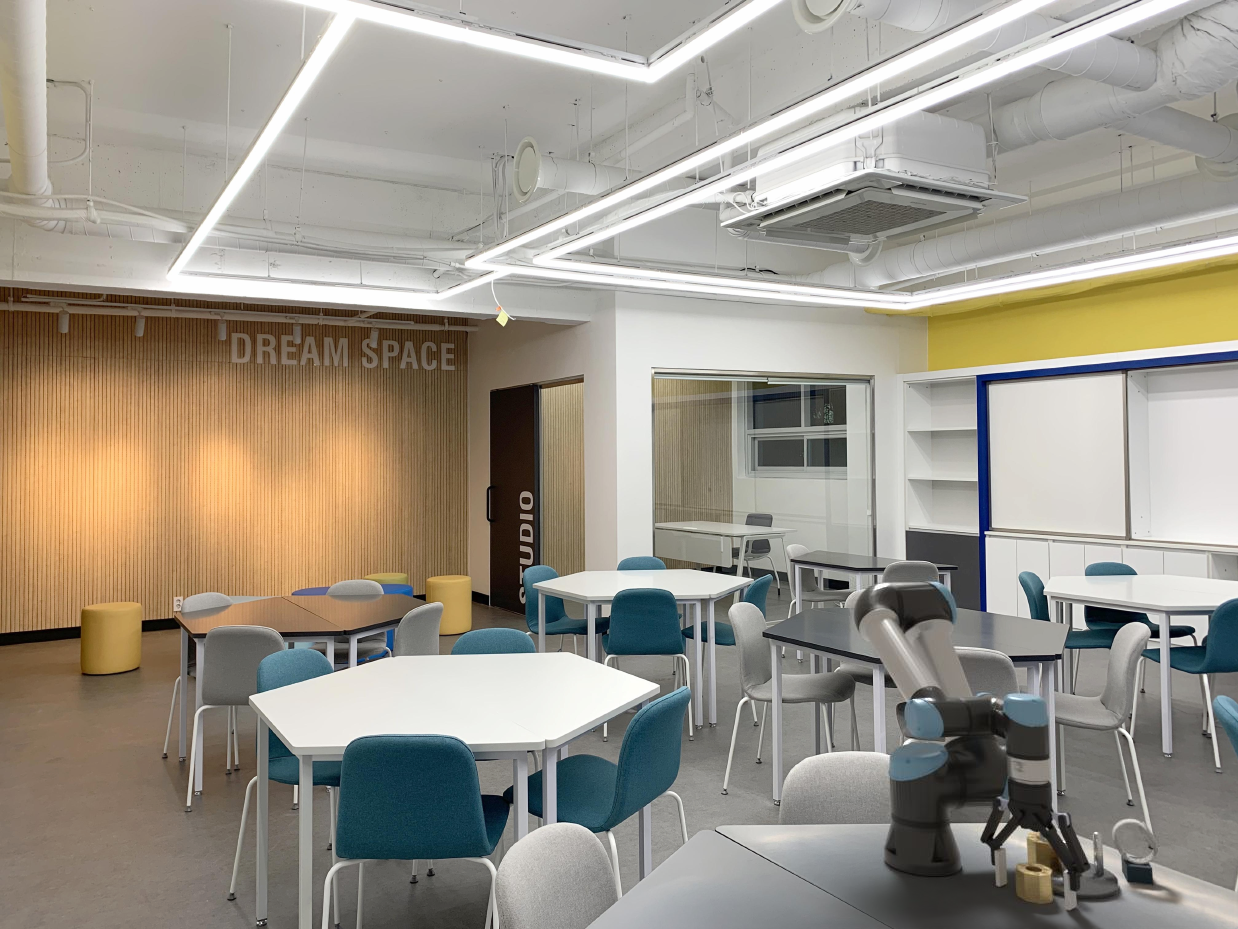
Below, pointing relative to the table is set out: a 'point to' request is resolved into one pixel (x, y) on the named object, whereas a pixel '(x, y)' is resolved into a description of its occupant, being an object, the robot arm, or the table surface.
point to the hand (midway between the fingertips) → (1035, 896)
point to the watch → (1137, 866)
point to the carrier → (1089, 876)
